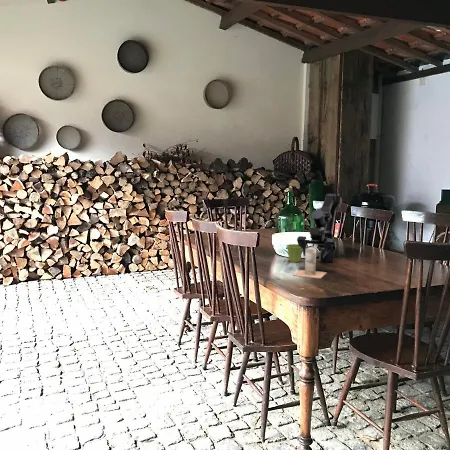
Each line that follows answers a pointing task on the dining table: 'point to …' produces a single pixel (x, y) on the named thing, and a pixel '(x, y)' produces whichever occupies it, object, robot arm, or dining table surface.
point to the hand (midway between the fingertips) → (313, 256)
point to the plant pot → (294, 252)
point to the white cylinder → (310, 261)
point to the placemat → (317, 275)
